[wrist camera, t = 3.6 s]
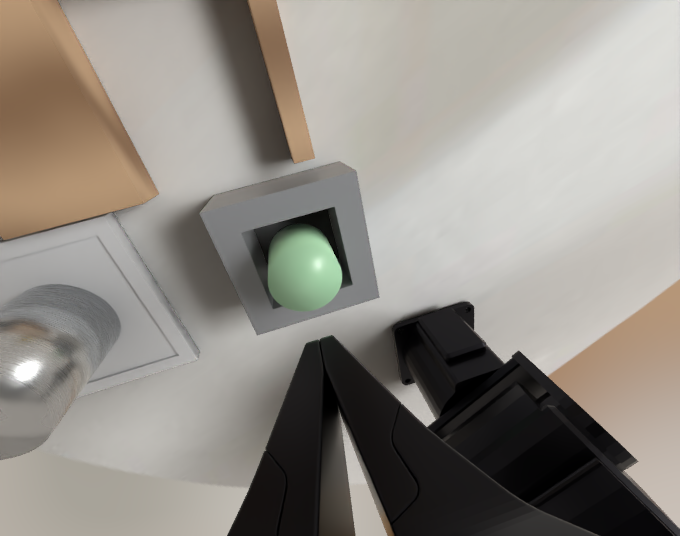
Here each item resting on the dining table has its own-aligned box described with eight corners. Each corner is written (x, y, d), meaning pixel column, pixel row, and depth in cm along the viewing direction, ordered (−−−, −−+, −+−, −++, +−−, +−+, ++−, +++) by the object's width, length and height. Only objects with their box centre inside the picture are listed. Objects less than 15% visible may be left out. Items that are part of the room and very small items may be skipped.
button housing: (362, 269, 19) (379, 297, 16) (259, 300, 19) (257, 335, 16) (340, 161, 16) (356, 170, 13) (213, 194, 15) (199, 213, 12)
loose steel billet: (138, 342, 18) (81, 435, 12) (53, 367, 17) (-44, 475, 12) (86, 272, 15) (-13, 351, 10) (-15, 300, 15) (-173, 398, 10)
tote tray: (200, 351, 19) (197, 360, 19) (45, 399, 19) (37, 410, 18) (112, 211, 15) (104, 216, 14) (-100, 267, 14) (-120, 275, 13)
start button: (336, 270, 16) (348, 299, 13) (279, 287, 16) (281, 320, 13) (321, 216, 14) (333, 236, 12) (259, 233, 14) (256, 259, 12)
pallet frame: (310, 154, 15) (314, 158, 14) (-140, 272, 14) (-200, 294, 12) (243, -110, 11) (238, -154, 9) (-444, 16, 9) (-615, -9, 7)
